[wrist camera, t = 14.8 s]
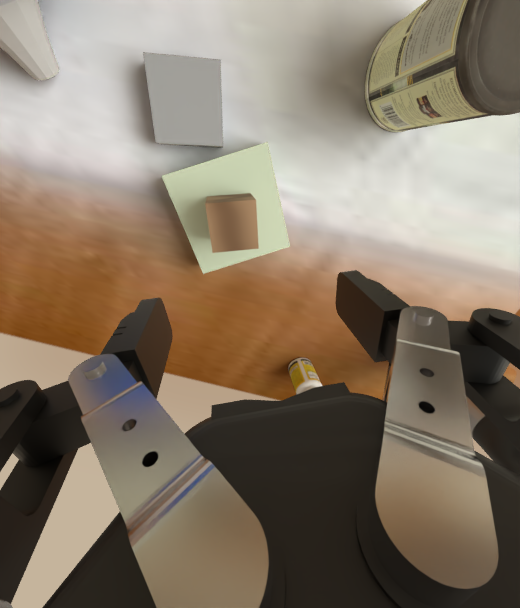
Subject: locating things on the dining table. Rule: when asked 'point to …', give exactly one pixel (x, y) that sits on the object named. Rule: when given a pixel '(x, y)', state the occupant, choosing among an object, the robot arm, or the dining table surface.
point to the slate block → (185, 99)
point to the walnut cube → (232, 222)
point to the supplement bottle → (303, 375)
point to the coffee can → (446, 65)
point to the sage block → (226, 181)
